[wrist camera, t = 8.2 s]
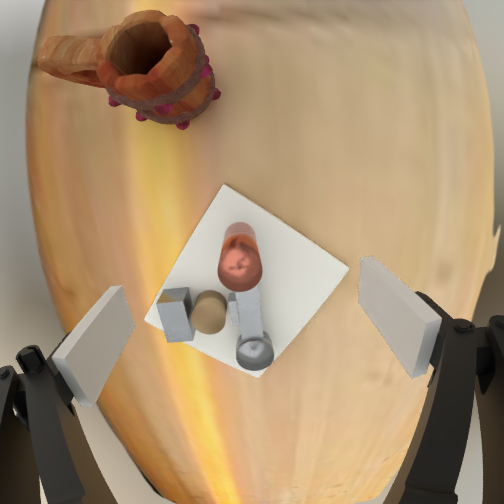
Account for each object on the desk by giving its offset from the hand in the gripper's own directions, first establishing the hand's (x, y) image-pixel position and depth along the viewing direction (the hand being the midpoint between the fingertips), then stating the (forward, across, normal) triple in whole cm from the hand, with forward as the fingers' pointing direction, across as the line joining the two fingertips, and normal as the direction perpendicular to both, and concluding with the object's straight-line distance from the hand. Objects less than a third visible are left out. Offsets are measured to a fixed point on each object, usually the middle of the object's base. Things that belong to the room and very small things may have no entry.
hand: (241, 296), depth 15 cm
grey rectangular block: (+15, -8, -9) cm, 19 cm away
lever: (+15, 0, -8) cm, 17 cm away
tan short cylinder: (+15, -5, -9) cm, 18 cm away
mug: (+17, -7, +16) cm, 25 cm away
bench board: (+17, -1, -8) cm, 19 cm away
